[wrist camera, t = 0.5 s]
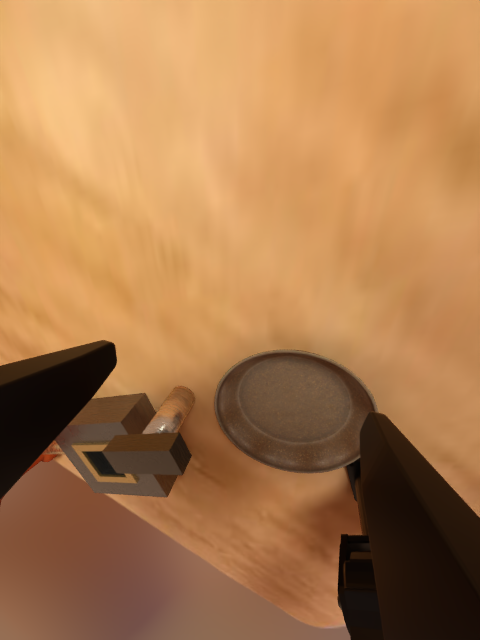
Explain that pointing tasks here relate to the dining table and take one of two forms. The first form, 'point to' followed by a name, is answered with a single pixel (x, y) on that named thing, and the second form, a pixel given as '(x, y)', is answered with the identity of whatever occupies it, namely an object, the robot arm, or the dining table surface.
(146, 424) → the block
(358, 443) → the saucer
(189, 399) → the block
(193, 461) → the dining table surface
